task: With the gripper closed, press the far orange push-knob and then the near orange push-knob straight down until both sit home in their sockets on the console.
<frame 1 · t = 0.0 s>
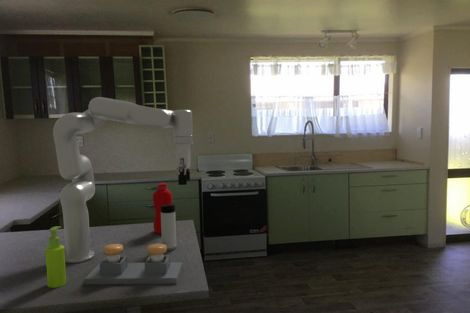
hand: (184, 182, 149), 31 cm above the counter, tool pointing down, fingers open, 9 cm apart
water bottle: (162, 232, 186), on the counter
console: (136, 275, 134), on the counter
near knob: (113, 254, 133), point 8 cm above the counter, slide at 0.0 cm
travel mug: (169, 248, 162), on the counter
soap dispenser: (57, 283, 128), on the counter
far knob: (157, 254, 133), point 8 cm above the counter, slide at 0.0 cm
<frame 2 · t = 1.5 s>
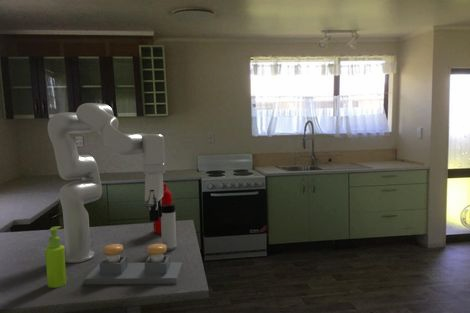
hand: (156, 218, 132), 21 cm above the counter, tool pointing down, fingers open, 4 cm apart
nothing on the counter moved.
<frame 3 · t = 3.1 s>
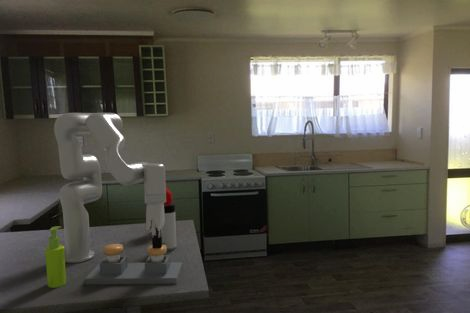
hand: (157, 247, 133), 11 cm above the counter, tool pointing down, fingers closed
far knob: (157, 255, 133), point 8 cm above the counter, slide at 0.3 cm, touching gripper
everything else where it was.
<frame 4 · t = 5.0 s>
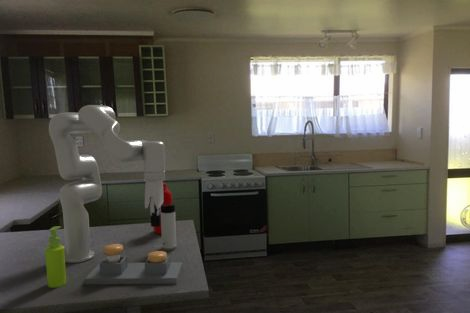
hand: (155, 225, 132), 19 cm above the counter, tool pointing down, fingers closed
far knob: (157, 262, 134), point 5 cm above the counter, slide at 2.9 cm
everything else where it was.
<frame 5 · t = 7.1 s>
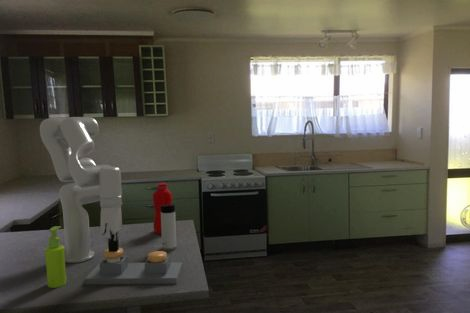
hand: (113, 250, 133), 9 cm above the counter, tool pointing down, fingers closed
near knob: (113, 258, 134), point 7 cm above the counter, slide at 1.4 cm, touching gripper
everything else where it was.
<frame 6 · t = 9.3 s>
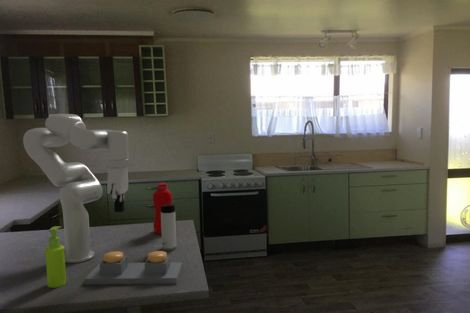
hand: (119, 211, 139), 22 cm above the counter, tool pointing down, fingers closed
near knob: (113, 262, 134), point 5 cm above the counter, slide at 2.9 cm
everything else where it was.
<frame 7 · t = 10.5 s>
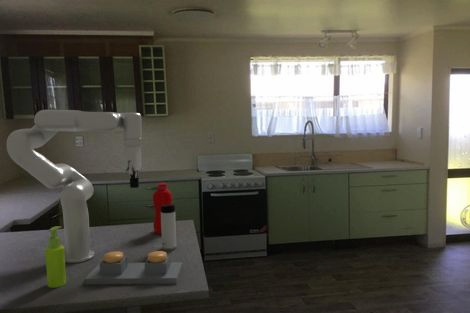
hand: (134, 187, 151), 29 cm above the counter, tool pointing down, fingers closed
nothing on the counter moved.
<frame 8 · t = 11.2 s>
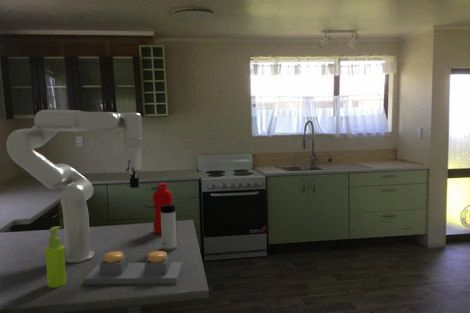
hand: (134, 187, 151), 29 cm above the counter, tool pointing down, fingers closed
nothing on the counter moved.
at the end: far knob slide at 2.9 cm; near knob slide at 2.9 cm; soap dispenser moved 0.2 cm from its start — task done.
